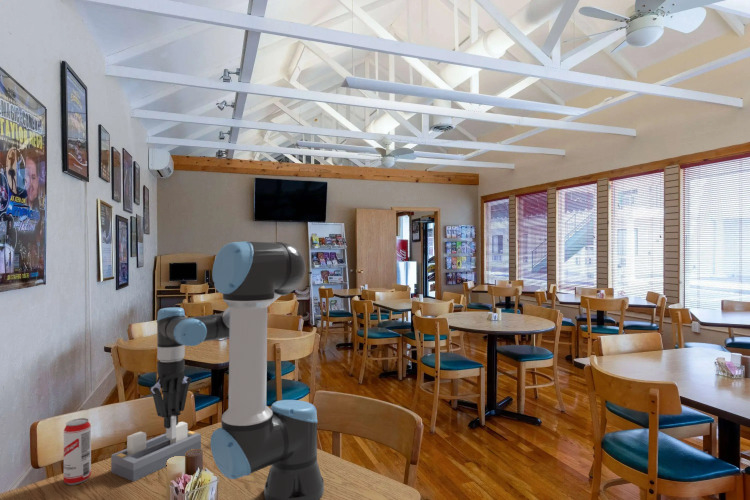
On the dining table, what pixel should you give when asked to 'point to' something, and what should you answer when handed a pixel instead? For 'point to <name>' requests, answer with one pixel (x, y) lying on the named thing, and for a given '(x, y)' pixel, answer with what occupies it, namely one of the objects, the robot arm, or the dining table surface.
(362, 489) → the dining table surface
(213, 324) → the robot arm
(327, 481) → the dining table surface
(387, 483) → the dining table surface
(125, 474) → the switch bank
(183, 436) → the tab
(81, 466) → the beer can
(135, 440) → the tab
